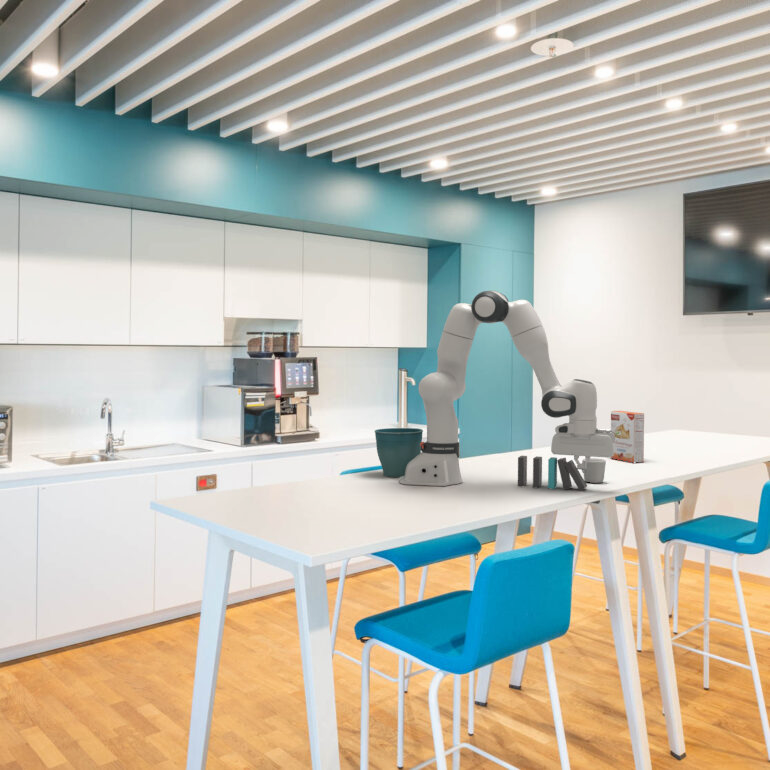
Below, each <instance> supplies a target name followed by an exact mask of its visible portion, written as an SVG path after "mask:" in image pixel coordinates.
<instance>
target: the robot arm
mask: <svg viewBox="0 0 770 770" xmlns="http://www.w3.org/2000/svg"><path fill="white" fill-rule="evenodd" d="M482 323H484V324H496V323H502V324H504V325H505V326H506V328H507V330H508V332H509V335H510V337H511V341H512V342H513V345H514V347H515V348H516V350H517V351H518V353H519V354H520V355H521V357H522V358H523V359H524V360H526V361H527V363H528V364H530V367H532V370H533V372H534V374H535V377H536V378H537V382H538V383H539V386H540V388H541V391H542V392H541V393H542V394H541V395H542V396H541V397H542V399H541V402H540V404H541V406H540V407H541V409H542V412H543V413H544V414H546V415H547V416H548V417H550V418H554V419H557V418H562V417H567V416H568V418H569V419H568V420H569V421H568V422H565V423H563V424H559V425H556V427H555V429H554V431H555V434H553V436H552V439H551V445H550V446H551V447H550V450H551V453H552V455H557V456H558V455H559V456H561V455H562V456H573V460H574V461H575V464H576V467H577V469H578V470H581V471H582V470H586V469H587V463H588V462H589V460H590V458H592V457H593V458H607V459H611V457H612V456H613V455H614V445H613V442H614V441H615V434H614V432H613V431H611V429H610V428H609V429H608V428H606V429H604V428H597V425H598V424H597V423H598V422H597V421H598V420H597V413H596V412H597V407H598V396H597V395H598V394H597V388H596V385H595V384H594V383H593V382H592V381H588V380H584V379H578V378H576V379H572V380H571V381H570V382H568V383H566V384H564V385H561V384H560V382H559V380H558V377H557V375H556V373H555V370H554V368H553V365H552V362H551V359H550V354H549V353H550V352H549V344H548V339H547V333H546V332H545V328H544V326H543V323H542V321H541V319H540V317H539V315H538V313H537V311H536V310H535V308H534V307H533V305H532V303H531V302H530V301H528V299H527V300H526V299H518V300H514V301H509V299H508V298H507V296H506V295H504V294H503V293H501V292H498V291H496V290H484V291H481V292H479V293H477V294H476V295H475V297H474V298H473V300H472V302H471V303H464V302H460V303H456V304H454V305H453V307H452V308H451V310H450V311H449V314H448V316H447V318H446V321H445V323H444V326H443V330H442V333H441V336H440V340H439V342H438V343H439V344H438V347H437V350H436V354H437V367H436V372H430V373H428V374H427V375H425V376H424V377H423V378H422V379H421V380H420V381H419V384H418V393H419V394H418V395H420V398H421V399H422V402H423V407H424V411H425V412H424V413H425V417H426V441H422V442H421V443H420V446H421V453H420V454H419V455H417V456H416V457H415V458H414V459H412V460H411V461H410V462H409V463H408V464H407V466H406V470H405V476H401V477H398V482H399V484H402V485H413V486H430V487H431V486H432V487H436V486H437V487H446V486H447V487H448V486H452V485H457V484H462V483H463V478H462V474H461V467H460V459H459V458H460V454H461V453H460V452H461V451H460V449H461V446H460V442H459V419H458V416H457V415H456V411H455V407H454V402H455V401H457V400H459V399H460V398H461V397H462V396H463V395H464V393H465V392H466V389H467V388H466V385H467V383H466V374H467V367H468V366H467V365H468V359H469V356H470V352H471V349H472V345H473V342H474V338H475V336H476V335H475V334H476V332H477V330H478V327H479V326H480V324H482ZM611 432H612V433H611ZM580 457H585V458H584V459H586V460H587V461H586V462H585V464H582V463H580V461H579V459H580Z"/></svg>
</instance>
